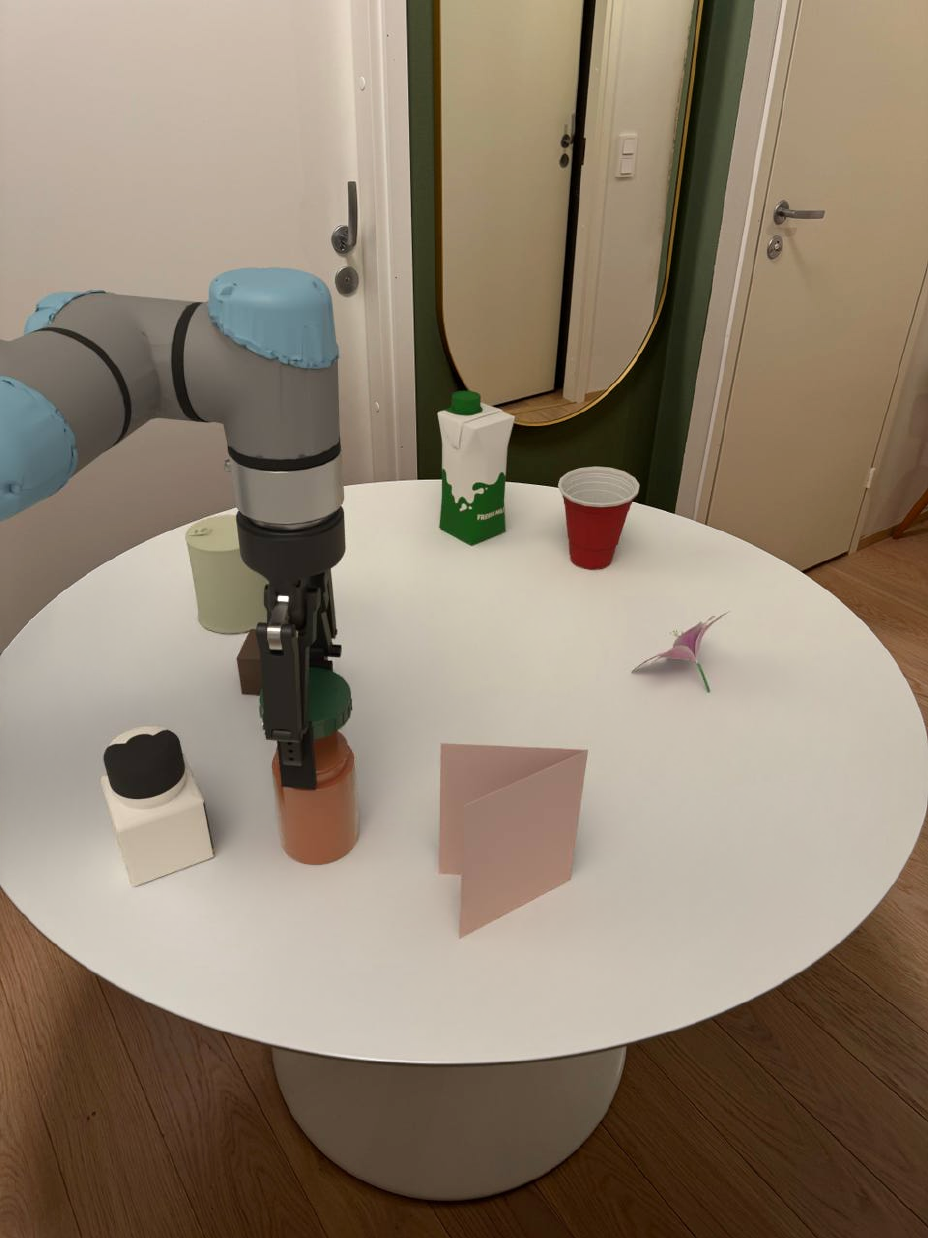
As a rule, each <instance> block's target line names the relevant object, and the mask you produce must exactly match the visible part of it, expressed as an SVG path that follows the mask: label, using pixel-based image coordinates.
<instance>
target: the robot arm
mask: <svg viewBox="0 0 928 1238" xmlns="http://www.w3.org/2000/svg"><path fill="white" fill-rule="evenodd" d="M333 306H334V305H333V297H332V294H331V291H330V289H329V287H328V285H327V284H326V282H324V280H322V279H321V277H318V276H317V275H315V274H314V273H311V272H308V271H306V270H302V269H296V268H289V267H277V266H272V267H271V266H270V267H266V268H265V267H261V268H260V267H243V268H237V269H231V270H227V271H225V272H221V273H219V274H217V275H216V276H215V277H214V278H213V279H212V280H211V281H210V283H209V286H208V300H206V301H192V300H182V299H180V300H179V299H169V298H159V297H151V296H150V297H149V296H138V295H127V294H117V293H115V292H111V291H109V292H107V291H105V290H101V289H89V290H87V291H57V292H56V291H55V292H51V293H49V294H47V295H45V296H43V297H42V298H41V299H40V300H39V301H37V302H36V304H35V310H34V313H33V314H31V315H29V316H28V317H27V319H26V322H25V326H24V330H23V335H22V336H19V337H17V338H14V339H12V340H4V339H1V338H0V523H2V522H4V521H7V520H9V519H11V518H13V517H15V516H17V515H18V514H20V513H23V512H25V511H26V510H27V509H29V508H31V507H32V506H34V505H37V503H39V502H41V501H44V500H47V499H49V498H51V497H52V496H55V495H56V494H57V493H59V491H61V489H62V488H64V487H65V486H66V485H67V484H68V483H69V481H70V479H71V478H73V477H75V475H77V474H78V473H79V472H81V471H82V470H83V469H84V468H86V467H87V466H88V465H90V464H91V463H92V462H93V461H94V460H96V459H97V458H98V457H99V456H101V455H102V454H104V453H106V452H108V451H109V450H111V449H112V448H113V447H115V446H117V445H118V444H120V443H122V442H123V441H124V440H125V439H127V438H128V437H129V436H131V435H132V434H133V433H135V432H136V431H138V430H139V429H140V428H141V427H143V426H144V425H145V424H147V423H148V422H149V421H151V420H154V419H166V420H176V421H186V422H195V423H206V424H209V423H217V424H221V425H223V431H224V434H225V440H226V445H227V446H226V447H227V453H228V458H225V459H224V462H223V466H222V467H223V470H224V472H226V473H231V479H232V491H233V498H234V499H233V500H234V506H235V508H236V509H237V512H236V514H235V515H236V523H237V531H238V540H239V548H240V555H241V558H242V560H243V562H244V563H245V564H246V565H247V566H248V567H249V568H250V569H252V570H253V571H255V572H257V573H259V574H260V575H262V576H263V577H264V578H266V579H267V580H268V582H269V584H266V585H265V588H264V607H265V608H266V610H267V622H258V624H257V627H256V630H255V633H256V638H257V642H258V647H259V651H260V661H261V676H262V692H263V707H264V724H263V723H262V725H261V726H262V730H263V731H264V736H265V740H266V741H273V742H276V748H278V757H279V766H280V775H281V784H282V787H291V788H304V789H315V788H316V784H317V778H316V765H315V752H314V739H313V727H312V721H308V686H309V667H312V668H322V669H326V670H330V671H332V672H334V665H333V664H334V662H333V660H330V659H329V658H339V659H340V658H341V656H342V652H343V651H342V649H343V647H342V644H336V643H335V644H334V643H333V640H336V637H337V635H338V628H337V618H336V617H337V616H336V608H335V607H336V606H335V598H334V586H333V575H332V569H333V568H334V567H335V566H337V565H338V564H339V563H340V562H341V560H342V559H343V558H344V556H345V553H346V549H347V547H346V545H347V544H346V543H347V542H346V523H345V522H346V521H345V520H346V519H345V510H344V508H343V506H342V505H343V504H344V501H345V486H344V485H345V483H344V470H343V469H344V467H343V450H342V449H343V448H342V445H341V433H340V432H341V431H340V427H341V426H340V395H339V394H340V392H339V359H340V349H339V345H338V343H337V335H336V326H335V316H334V307H333Z"/></svg>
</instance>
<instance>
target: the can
mask: <svg viewBox="0 0 928 1238" xmlns="http://www.w3.org/2000/svg"><path fill="white" fill-rule="evenodd" d="M236 515H237V514H221V515H215V516H210V517H207V518H204V519H201V520H199V521H197V522H195V523H193V524H192V525H190V527H188V528H187V530H186V531H185V535H184V539H185V542H186V546H187V551H188V552H187V553H188V556H189V557H188V558H189V563H190V568H191V573H192V574H191V575H192V580H193V585H194V586H193V587H194V591H195V597H196V605H197V612H198V613H197V619H198V622H199V623H200V625H201V626H202V627H203V628H204V629H206V630H209V631H211V632H213V633H218V634H224V635H235V634H242V633H243V634H244V633H247V632H248V633H249V631H250V629H256V627H257V624H258V622H266V623H267V610H266V608H265V607H264V588H265V585H266V584H269V582H268V580H267V579H266V578H264V577H263V576H262V575H260V574H259V573H257V572H255V571H253V570H252V569H250V568H249V567H248V566H247V565H246V564H245V563H244V562H243V560H242V558H241V555H240V548H239V540H238V531H237V523H236Z"/></svg>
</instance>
